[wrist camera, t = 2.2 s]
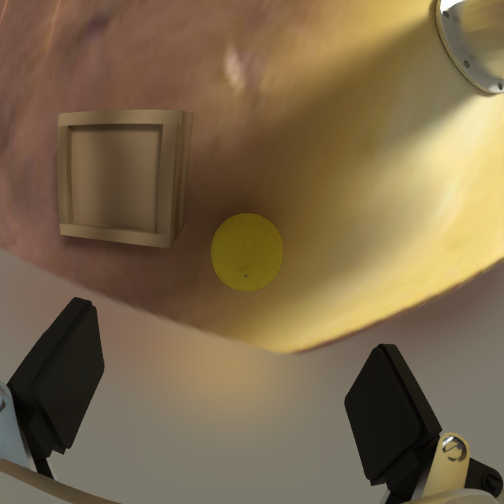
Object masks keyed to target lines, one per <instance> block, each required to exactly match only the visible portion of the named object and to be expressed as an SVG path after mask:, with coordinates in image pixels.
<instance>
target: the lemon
mask: <svg viewBox="0 0 504 504" xmlns="http://www.w3.org/2000/svg"><path fill="white" fill-rule="evenodd" d="M211 260H212V265H213V268H214V270H215V272H216V274H217V276H218V277H219V278H220V279H221V281H222V282H223V283H224V284H226V285H227V286H229V287H230V288H233V289H235V290H238V291H245V292H247V291H255V290H259V289H261V288H263V287H265V286H267V285H268V284H269V283H270V282H271V281H272V280H273V279H274V278H275V277H276V275H277V274H278V272H279V270H280V268H281V264H282V261H283V243H282V239H281V236H280V234H279V232H278V231H277V229H276V227H275V226H274V225H273V224H272V223H271V222H270V221H269V220H267V219H266V218H264V217H262V216H260V215H257V214H253V213H242V214H237V215H234V216H232V217H230V218H228V219H227V220H226V221H225V222H223V223H222V224H221V225H220V227H219V228H218V229H217V231H216V232H215V234H214V237H213V240H212V243H211Z"/></svg>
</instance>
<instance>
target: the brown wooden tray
mask: <svg viewBox="0 0 504 504" xmlns="http://www.w3.org/2000/svg"><path fill="white" fill-rule="evenodd" d="M192 120H193V113H188V112H184V111H177V110H103V111H86V112H73V113H62V114H59V118H58V134H57V195H58V211H59V224H60V234H61V235H67V236H74V237H82V238H90V239H98V240H105V241H113V242H121V243H129V244H137V245H145V246H153V247H161V248H169V249H170V247H171V246H172V244H173V242H174V241H175V239H176V237H177V236H178V234H179V233H180V231H181V229H182V228H183V224H184V207H185V193H186V180H187V168H188V158H189V147H190V138H191V129H192Z"/></svg>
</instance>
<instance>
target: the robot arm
mask: <svg viewBox="0 0 504 504" xmlns="http://www.w3.org/2000/svg"><path fill="white" fill-rule="evenodd" d="M435 16H436V23H437V27H438V31H439V34H440V37H441V39H442V42H443V44H444V47H445V48H446V50H447V52H448V54H449V56H450V58H451V59H452V61H453V62H454V64H455V65H456V67H457V68H458V69H459V70H460V72H461V73H462V74H463V75H464V76H465V77H466V78H467V79H468V80H469V81H470V82H471V83H472V84H473V85H475V86H476V87H477V88H479V89H481V90H483V91H485V92H488V93H499V94H500V93H504V0H437V4H436V13H435ZM103 372H104V360H103V354H102V347H101V341H100V334H99V326H98V318H97V310H96V307H95V306H92V302H91V301H89V300H85V299H81V298H78V297H75V298H73V299H72V300H71V301H70V303H69V304H68V305H67V306H66V307H65V309H64V310H63V311H62V312H61V313H60V315H59V316H58V317H57V318H56V320H55V321H54V322H53V323H52V325H51V326H50V327H49V328H48V330H46V331H45V332H44V333H43V335H42V336H41V337H40V339H39V340H38V341H37V343H36V344H35V345H34V347H33V348H32V349H31V351H30V352H29V353H28V355H27V356H26V357H25V359H24V360H23V362H22V363H21V364H20V366H19V367H18V369H17V370H16V372H15V373H14V374H13V376H12V377H11V379H10V380H9V382H8V383H7V385H5V384H4V383H2V382H1V381H0V504H120V503H117V502H113V501H110V500H107V499H104V498H101V497H98V496H94V495H91V494H88V493H86V492H83V491H80V490H78V489H75V488H72V487H70V486H67V485H65V484H62V483H60V482H59V481H58V479H57V477H56V474H55V472H54V470H53V467H52V465H51V462H50V459H49V457H50V454H51V452H52V450H54V451H56V452H59V453H61V454H63V455H64V452H65V450H66V448H68V449H69V448H71V446H72V444H73V442H74V439H75V437H76V434H77V432H78V429H79V427H80V424H81V422H82V420H83V417H84V415H85V413H86V410H87V408H88V406H89V404H90V401H91V399H92V397H93V395H94V392H95V390H96V388H97V386H98V384H99V381H100V379H101V377H102V375H103ZM344 405H345V408H346V412H347V415H348V418H349V421H350V425H351V428H352V431H353V434H354V438H355V441H356V445H357V448H358V451H359V455H360V459H361V462H362V466H363V469H364V473H365V476H366V478H367V479H368V480H370V483H371V486H374V485H379V484H384V483H385V482H386V484H387V489H386V491H385V493H384V495H383V497H382V499H381V501H380V503H379V504H504V488H503V480H502V477H501V476H500V474H499V473H498V472H497V471H496V470H494V469H493V468H491V467H488V466H486V465H484V464H482V463H480V462H478V461H476V460H474V459H472V458H470V448H469V445H468V443H467V442H466V440H465V439H464V438H463V437H461V436H460V435H458V434H455V433H446V434H444V435H443V436H442V437H440V435H439V433H440V432H441V431H442V428H441V426H440V424H439V422H438V420H437V418H436V416H435V414H434V412H433V410H432V409H431V407H430V405H429V403H428V401H427V399H426V398H425V395H424V394H423V392H422V390H421V388H420V386H419V384H418V383H417V381H416V379H415V377H414V376H413V374H412V372H411V370H410V369H409V367H408V365H407V363H406V362H405V360H404V359H403V357H402V355H401V353H400V351H399V350H398V348H397V347H396V345H394V344H379V345H378V346H377V347H376V348H374V349H373V350H372V352H371V353H370V355H369V357H368V359H367V361H366V363H365V364H364V366H363V368H362V370H361V372H360V373H359V375H358V377H357V379H356V380H355V382H354V384H353V386H352V387H351V389H350V391H349V392H348V394H347V395H346V397H345V401H344Z"/></svg>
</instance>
